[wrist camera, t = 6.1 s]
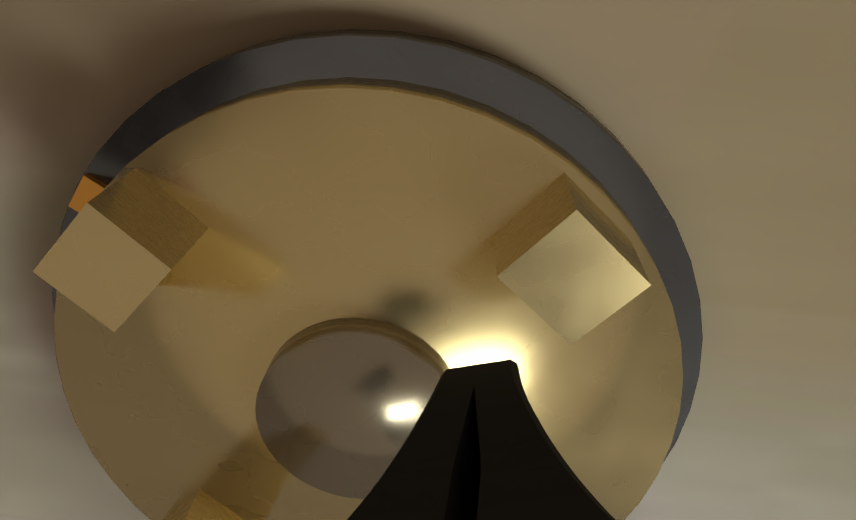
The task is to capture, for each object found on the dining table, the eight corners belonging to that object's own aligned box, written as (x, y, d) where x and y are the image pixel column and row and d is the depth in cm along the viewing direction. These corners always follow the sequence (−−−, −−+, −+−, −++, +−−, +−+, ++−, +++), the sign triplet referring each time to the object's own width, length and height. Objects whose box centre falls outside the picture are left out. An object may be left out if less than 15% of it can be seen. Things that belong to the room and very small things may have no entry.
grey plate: (808, 402, 23) (827, 431, 22) (353, 628, 30) (347, 659, 29) (414, -152, 17) (409, -158, 16) (-48, 295, 24) (-78, 317, 23)
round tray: (721, 77, 17) (781, 116, 14) (632, 590, 26) (655, 695, 22) (5, 76, 19) (-105, 112, 15) (142, 564, 27) (92, 659, 24)
